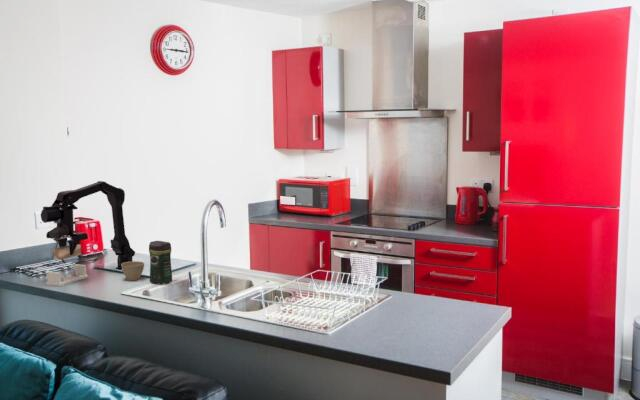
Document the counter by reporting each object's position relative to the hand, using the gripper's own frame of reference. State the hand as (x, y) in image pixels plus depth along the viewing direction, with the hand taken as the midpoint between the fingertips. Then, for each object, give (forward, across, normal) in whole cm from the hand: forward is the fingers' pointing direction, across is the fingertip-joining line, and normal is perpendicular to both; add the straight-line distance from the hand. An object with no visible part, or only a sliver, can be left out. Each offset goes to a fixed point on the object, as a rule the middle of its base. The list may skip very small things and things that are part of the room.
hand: (67, 254), depth 271 cm
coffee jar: (+12, +41, +12) cm, 44 cm away
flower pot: (+12, +26, +12) cm, 31 cm away
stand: (+12, 0, -1) cm, 12 cm away
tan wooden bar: (+1, 0, 0) cm, 1 cm away
